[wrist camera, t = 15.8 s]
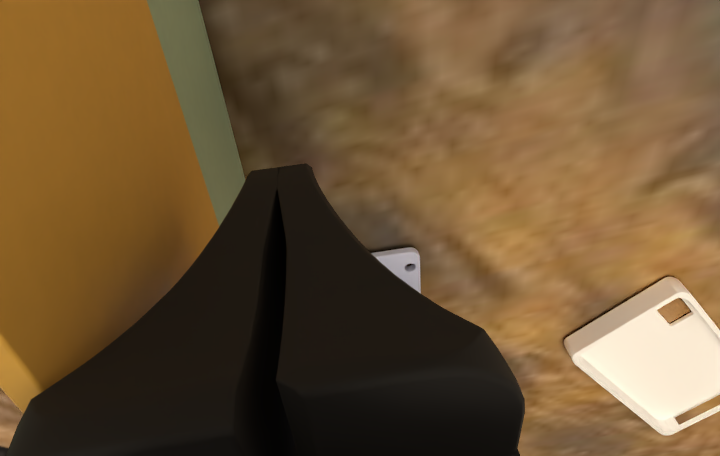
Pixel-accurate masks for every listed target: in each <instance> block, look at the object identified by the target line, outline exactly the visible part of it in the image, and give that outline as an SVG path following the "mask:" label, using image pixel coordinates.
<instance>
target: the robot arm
mask: <svg viewBox="0 0 720 456" xmlns="http://www.w3.org/2000/svg"><path fill="white" fill-rule="evenodd" d="M407 264H412V265H411V266H406V265H407ZM524 414H525V403H524V397H523V395H522V392H521V389H520V387H519V385H518V382H517V380H516V378H515V376H514V375H513V373H512V371H511V369H510V368H509V366H508V364H507V363H506V361H505V359H504V358H503V356H502V355H501V353H500V351H499V350H498V348H497V347H496V346H495V344H494V343H493V341H492V340H491V338H490V337H489V336H488V334H487V333H486V332H485V330H484V329H482V328H480V327H479V326H477V325H475V324H473V323H471V322H469V321H467V320H465V319H463V318H461V317H459V316H457V315H455V314H453V313H451V312H449V311H447V310H446V309H444V308H442V307H440V306H439V305H437V304H436V303H434V302H433V301H431V300H429V299H428V298H426V297H425V296H423V295H422V294H421V286H420V256H419V253H418V251H417V250H416V249H415V248H412V247H408V248H401V249H395V250H388V251H381V252H375V253H370V252H369V251H368V250H367V249H366V248H365V247H364V246H363V245H362V244H361V242H360V241H359V240H358V239H357V238H356V237H355V236H354V235H353V233H352V232H351V231H350V230H349V229H348V228H347V226H346V225H345V224H344V223H343V221H342V220H341V219H340V218H339V216H338V215H337V213H336V212H335V211H334V209H333V208H332V206H331V205H330V203H329V202H328V200H327V199H326V197H325V196H324V194H323V192H322V191H321V189H320V187H319V185H318V183H317V181H316V179H315V177H314V174H313V170H312V167H311V166H309V165H308V164H299V165H292V166H284V167H277V168H270V169H263V170H255V171H251V173H250V174H249V175H248V177H247V179H246V181H245V183H244V185H243V187H242V188H241V190H240V192H239V194H238V196H237V198H236V200H235V201H234V203H233V205H232V207H231V208H230V210H229V212H228V213H227V215H226V217H225V218H224V220H223V221H222V223H221V225H220V226H219V228H218V229H217V231H216V232H215V234H214V235H213V237H212V238H211V240H210V241H209V242H208V244H207V245H206V247H205V248H204V249H203V251H202V252H201V254H200V255H199V256H198V258H197V259H196V260H195V262H194V263H193V264H192V265H191V267H190V268H189V269H188V270H187V271H186V273H185V274H184V275H183V276H182V277H181V278H180V280H179V281H178V282H177V283H176V284H175V285H174V286H173V287H172V288H171V290H170V291H169V292H168V293H167V294H166V295H165V296H163V297H162V298H161V299H160V300H159V301H158V302H157V303H156V304H155V305H154V306H153V307H152V308H151V309H150V310H149V311H148V312H147V313H146V314H145V315H143V316H142V317H141V318H140V319H139V320H138V321H137V322H136V323H135V324H134V325H132V326H131V327H130V328H129V329H128V330H126V331H125V332H124V333H123V334H122V335H120V336H119V337H118V338H117V339H116V340H114V341H113V342H112V343H110V344H109V345H108V346H107V347H105V348H104V349H103V350H102V351H100V352H99V353H98V354H96V355H95V356H94V357H92V358H91V359H90V360H88V361H87V362H86V363H84V364H83V365H81V366H80V367H78V368H77V369H75V370H74V371H72V372H71V373H70V374H68V375H67V376H65V377H64V378H62V379H61V380H59V381H58V382H56V383H55V384H53V385H52V386H50V387H49V388H47V389H46V390H45V391H43V392H41V393H40V394H38V395H37V396H35V397H34V398H32V399H31V400H30V402H29V404H28V406H27V408H26V410H25V412H24V414H23V416H22V418H21V420H20V422H19V424H18V426H17V429H16V431H15V434H14V436H13V439H12V442H11V444H10V447H9V449H8V452H7V454H6V456H520V454H519V452H518V449H517V447H518V443H519V438H520V433H521V428H522V423H523V418H524Z"/></svg>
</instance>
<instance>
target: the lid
mask: <svg viewBox="0 0 720 456" xmlns="http://www.w3.org/2000/svg"><path fill="white" fill-rule="evenodd" d="M218 228H219V224H218V221H217V218H216V215H215V212H214V209H213V206H212V202H211V199H210V196H209V193H208V190H207V187H206V184H205V181H204V178H203V174H202V171H201V168H200V165H199V162H198V159H197V156H196V153H195V149H194V146H193V143H192V140H191V137H190V134H189V131H188V128H187V125H186V121H185V118H184V115H183V112H182V109H181V106H180V103H179V100H178V96H177V93H176V90H175V87H174V84H173V81H172V78H171V75H170V72H169V68H168V65H167V62H166V59H165V56H164V53H163V50H162V47H161V43H160V40H159V37H158V34H157V31H156V28H155V25H154V22H153V19H152V15H151V12H150V9H149V6H148V3H147V0H0V388H1V389H2V390H3V391H4V392H5V393H6V395H7V396H8V397H9V398H10V399H11V400H12V402H13V403H14V404H15V405H16V406H17V407H18V409H19V410H20V411H21V412H22V413H23V414H24V412H25V410H26V408H27V406H28V404H29V402H30V400H31V399H32V398H34V397H35V396H37V395H38V394H40V393H41V392H43V391H45V390H46V389H47V388H49V387H50V386H52V385H53V384H55V383H56V382H58V381H59V380H61V379H62V378H64V377H65V376H67V375H68V374H70V373H71V372H72V371H74V370H75V369H77V368H78V367H80V366H81V365H83V364H84V363H86V362H87V361H88V360H90V359H91V358H92V357H94V356H95V355H96V354H98V353H99V352H100V351H102V350H103V349H104V348H105V347H107V346H108V345H109V344H110V343H112V342H113V341H114V340H116V339H117V338H118V337H119V336H120V335H122V334H123V333H124V332H125V331H126V330H128V329H129V328H130V327H131V326H132V325H134V324H135V323H136V322H137V321H138V320H139V319H140V318H141V317H142V316H143V315H145V314H146V313H147V312H148V311H149V310H150V309H151V308H152V307H153V306H154V305H155V304H156V303H157V302H158V301H159V300H160V299H161V298H162V297H163V296H165V295H166V294H167V293H168V292H169V291H170V290H171V288H172V287H173V286H174V285H175V284H176V283H177V282H178V281H179V280H180V278H181V277H182V276H183V275H184V274H185V273H186V271H187V270H188V269H189V268H190V267H191V265H192V264H193V263H194V262H195V260H196V259H197V258H198V256H199V255H200V254H201V252H202V251H203V249H204V248H205V247H206V245H207V244H208V242H209V241H210V240H211V238H212V237H213V235H214V234H215V232H216V231H217V229H218Z"/></svg>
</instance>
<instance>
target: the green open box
mask: <svg viewBox="0 0 720 456" xmlns="http://www.w3.org/2000/svg"><path fill="white" fill-rule="evenodd" d="M147 3H148V6H149V9H150V12H151V15H152V19H153V22H154V25H155V28H156V31H157V34H158V37H159V40H160V43H161V47H162V50H163V53H164V56H165V59H166V62H167V65H168V68H169V72H170V75H171V78H172V81H173V84H174V87H175V90H176V93H177V96H178V100H179V103H180V106H181V109H182V112H183V115H184V118H185V121H186V125H187V128H188V131H189V134H190V137H191V140H192V143H193V146H194V149H195V153H196V156H197V159H198V162H199V165H200V168H201V171H202V174H203V178H204V181H205V184H206V187H207V190H208V193H209V196H210V199H211V202H212V206H213V209H214V212H215V215H216V218H217V221H218V224H219V226H220V225H221V223H222V221H223V220H224V218H225V217H226V215H227V213H228V212H229V210H230V208H231V207H232V205H233V203H234V201H235V200H236V198H237V196H238V194H239V192H240V190H241V188H242V187H243V185H244V183H245V181H246V180H245V176H244V173H243V169H242V165H241V161H240V157H239V153H238V150H237V146H236V142H235V138H234V134H233V131H232V127H231V123H230V119H229V115H228V112H227V108H226V104H225V100H224V96H223V92H222V89H221V85H220V81H219V77H218V73H217V70H216V66H215V62H214V58H213V54H212V51H211V47H210V43H209V39H208V35H207V31H206V28H205V24H204V20H203V16H202V12H201V9H200V5H199V1H198V0H147Z"/></svg>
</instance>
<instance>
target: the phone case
mask: <svg viewBox="0 0 720 456" xmlns="http://www.w3.org/2000/svg"><path fill="white" fill-rule="evenodd" d="M676 298H681V299H682V300H683V301H684V302H685V303H686V305H687V306H688V307H689V308H690V310H691V312H690V313H688V314H687V315H685V316H683V317H681V318H680V319H678V320H676V321H675V322H673V323H671V324H669V323H668V322H667V321H666V320H665V319H664V318H663V317H662V315H661V314H660V313H659V312H658V311H657V309H659V308H661V307H663V306H664V305H666V304H668V303H669V302H671V301H673V300H674V299H676ZM564 346H565V348H566V350H567V351H568V353H569V355H570V357H571V359H572V361H573V362H574V364H575V365H576V366H578V367H579V368H580V369H581V370H582V371H584V372H585V373H586V374H587V375H589V376H590V377H591V378H592V379H594V380H595V381H596V382H597V383H598V384H600V385H601V386H602V387H603V388H605V389H606V390H607V391H608V392H610V393H611V394H612V395H613V396H614V397H616V398H617V399H618V400H619V401H621V402H622V403H623V404H624V405H626V406H627V407H628V408H629V409H630V410H632V411H633V412H634V413H635V414H637V415H638V416H639V417H640V418H642V419H643V420H644V421H645V422H646V423H648V424H649V425H650V426H651V427H653V428H654V429H655V430H656V431H658V432H659V433H660V434H662V435H672V434H674V433H676V432H678V431H680V430H682V429H684V428H686V427H688V426H690V425H692V424H694V423H696V422H698V421H700V420H702V419H704V418H706V417H708V416H710V415H712V414H714V413H717V412H719V411H720V405H718V406H716V407H714V408H712V409H710V410H708V411H706V412H704V413H702V414H700V415H698V416H696V417H694V418H692V419H690V420H688V421H686V422H684V423H682V424H680V425H679V424H678V422H677V421H676V419H675V418H674V417H676V416H678V415H680V414H682V413H684V412H686V411H688V410H690V409H692V408H694V407H696V406H698V405H700V404H702V403H704V402H706V401H708V400H710V399H712V398H714V397H716V396H718V395H720V330H719V329H718V327H717V326H716V325H715V324H714V322H713V321H712V320H711V319H710V317H709V316H708V315H707V314H706V312H705V311H704V310H703V308H702V307H701V306H700V305H699V303H698V302H697V301H696V300H695V298H694V297H693V296H692V295H691V293H690V292H689V291H688V290H687V289H686V288H685V286H684V285H683V284H682V283H681V282H680V281H679V280H678V279H676V278H674V277H666V278H664V279H662V280H660V281H659V282H657V283H655V284H654V285H652V286H650V287H649V288H647V289H645V290H644V291H642V292H641V293H639V294H637V295H636V296H634V297H632V298H631V299H629V300H627V301H626V302H624V303H622V304H621V305H619V306H617V307H616V308H614V309H613V310H611V311H609V312H608V313H606V314H604V315H603V316H601V317H599V318H598V319H596V320H594V321H593V322H591V323H589V324H588V325H586V326H585V327H583V328H581V329H580V330H578V331H576V332H575V333H573V334H571V335H570V336H568V337H566V338H565V340H564Z"/></svg>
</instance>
